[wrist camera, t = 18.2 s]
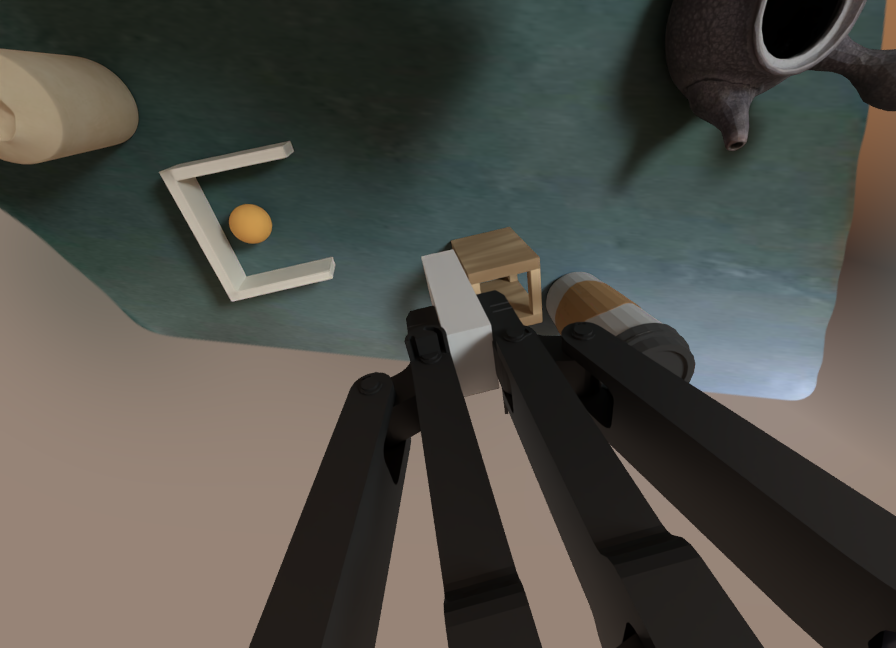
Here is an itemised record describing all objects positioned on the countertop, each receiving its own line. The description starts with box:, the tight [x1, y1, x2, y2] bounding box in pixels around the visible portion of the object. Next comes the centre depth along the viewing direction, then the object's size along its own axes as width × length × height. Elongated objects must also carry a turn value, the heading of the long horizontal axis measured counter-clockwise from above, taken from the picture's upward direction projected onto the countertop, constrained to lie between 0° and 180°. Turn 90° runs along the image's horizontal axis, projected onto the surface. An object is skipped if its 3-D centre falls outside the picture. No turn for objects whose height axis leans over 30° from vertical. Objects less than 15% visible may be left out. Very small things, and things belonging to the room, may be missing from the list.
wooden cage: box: [451, 227, 542, 326], centre depth 36 cm, size 6×6×8 cm
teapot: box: [665, 0, 896, 151], centre depth 29 cm, size 19×16×10 cm
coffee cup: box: [546, 272, 695, 383], centre depth 37 cm, size 8×8×15 cm
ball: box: [229, 204, 272, 244], centre depth 32 cm, size 3×3×3 cm
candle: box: [0, 49, 139, 164], centre depth 23 cm, size 6×6×10 cm
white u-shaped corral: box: [159, 141, 335, 302], centre depth 32 cm, size 11×9×3 cm
